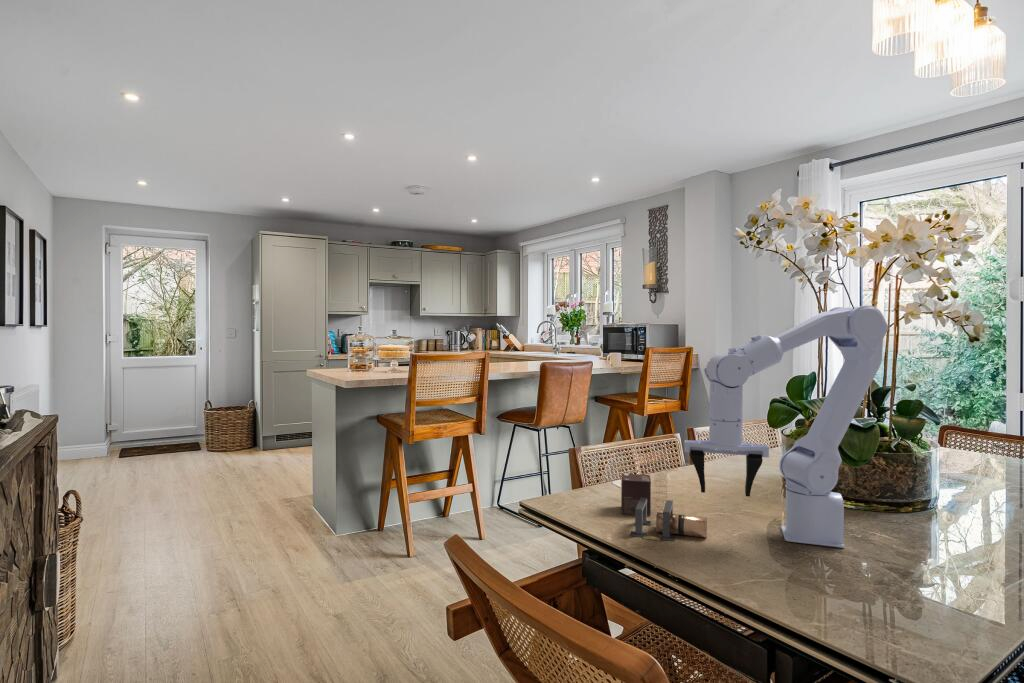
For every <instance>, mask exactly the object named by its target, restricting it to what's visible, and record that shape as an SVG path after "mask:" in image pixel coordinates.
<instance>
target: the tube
mask: <svg viewBox="0 0 1024 683" xmlns="http://www.w3.org/2000/svg"><path fill="white" fill-rule="evenodd" d="M655 529H656V530H655V532H656V533H663V512H656V519H655ZM672 534H673V535H678V536H679V535H680V536H690V537H697V538H698V537H699V538H707V537H708V535H707V534H708V517H705V516H695V515H687V514H677V513H673V514H670V535H672Z"/></svg>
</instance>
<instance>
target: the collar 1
mask: <svg viewBox="0 0 1024 683" xmlns="http://www.w3.org/2000/svg"><path fill="white" fill-rule="evenodd" d="M634 516H635V518H634V521H635V522H634V524H635V526H634V529H635V530H631V531H630V532H629V536H630V537H637V538H643V536H648V533H647V532H643V529H644V528H643V526H652V523H653V522H652V521H651V520H648V516H647V498H640V500H639V502H638V504H637V507H636V509H635V515H634Z"/></svg>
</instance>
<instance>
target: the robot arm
mask: <svg viewBox="0 0 1024 683" xmlns="http://www.w3.org/2000/svg"><path fill="white" fill-rule="evenodd" d="M853 307H854V309H853ZM886 321H887V320H886V319H885V317H884V315H883V313H882V311H881V310H880V309H879V308H877V307H876V306H874V305H870V304H869V305H866V304H864V305H859V306H850V307H849V306H847V307H842V306H841V307H839V306H838V307H837V306H836V307H833V308H831V309H829V310H828V311H823V312H819V313H818V314H816V315H814V316H812V317H810V318H808V319H806V320H804V321H802V322H801V323H799V324H797V325H795V326H794V327H791V328H789V329H787V330H786V331H784V332H782V333H780V334H779V335H778V334H777V335H776V336H773V337H772V336H770V335H767V334H763V335H761V334H754V335H753V336H751V337H750V339H751V340H750V341H748V342H746V343H744V344H742V345H740V346H737V347H735V346H731V347H729V348H728V349H727V350H728V352H727V354H726V353H725V354H724V353H723V354H722V353H720V354H715V355H714V356H712V357H711V358H709V361H707V364H706V368H704V369H703V370H704V375H705V377H706V379H707V381H709V404H708V405H709V413H708V415H709V416H708V418H709V431H708V432H709V434H708V435H709V436H708V437H709V439H707V440H705V439H704V440H698V439H697V440H694V439H691V440H690V439H689V440H688V439H684V444H683V447H684V449H683V450H684V453H689V455H690V456H689V457H690V460H691V462H692V463H693V467H694V468H695V471H696V473H697V477H698V481H699V485H700V491H701V492H700V493H704V494H705V493H706V479H705V454H707V453H708V454H723V455H735V456H737V455H739V456H740V455H741V456H745V461H746V462H745V463H746V464H745V465H746V467H745V471H746V473H745V474H746V476H745V487H744V493H745V497H749V498H750V497H751V491H752V486H753V484H754V481H755V478H756V476H757V474H758V471H759V469H760V468H761V467H762V464H763V461H764V460H763V458H770V457H769V455H770V446H769V445H768V444H761V443H760V444H758V443H749V442H744V441H743V402H744V401H743V391H744V390H743V385H744V384H746V382H747V380H748V379H749V378H750V377H752V376H754V375H756V374H758V373H760V372H763V371H764V370H767V369H768V368H770V367H774V366H775V365H777V364H779V363H781V361H782V359H783V356H784V354H785V353H788V352H789V351H791V350H794V349H796V348H798V347H801V346H804V345H805V344H808V343H811V342H812V341H815V340H817V339H820V338H822V337H828V339H829V340H830V341H831V342H832V343H833V344H834V345H835V347H836V348H837V349H838V350H839V351H840V353H841V355H842V358H843V359H844V362H843V364H842V366H841V368H840V370H839V372H838V374H837V375H836V378H835V379H834V382H833V384H832V385H831V387H830V388H829V391H828V393H827V395H826V397H825V399H824V400H823V403H822V405H821V407H820V409H819V411H818V412H817V414H816V416H815V418H814V420H813V422H812V424H811V426H810V428H809V429H808V431H807V434H805V435H803V436H801V437H800V438H798V439H797V440H795V441H794V444H793V445H792V446H791V448H790V449H789V450H787V451H786V452H785V453H783V455H782V456H781V457H780V461H779V472H780V473H781V475H782V476H783V477H784V478H785V525H781V526H780V527H781V528H780V529H781V532H782V535H783V537H784V541H786V542H792V543H799V544H808V545H817V546H824V547H834V548H841V549H842V548H845V544H844V538H845V537H844V531H845V530H844V528H845V527H844V526H845V523H844V522H845V521H844V520H845V519H844V518H845V507H844V499H843V496H842V494H841V493H839V492H833V491H832V490H833V489H835V487H836V485H837V484H838V480H839V470H840V466H841V465H842V462H843V460H842V457H841V454H840V451H839V446H840V444H841V442H842V441H843V438H844V436H845V435H846V433H847V431H848V429H849V426H850V425H851V422H852V420H853V419H854V417H855V415H856V414H857V411H858V409H859V407H860V406H861V403H863V402H862V401H863V400H864V397H865V396H866V394H867V392H868V390H869V389H870V386H871V384H872V382H873V380H874V378H875V377H876V375H877V373H878V371H879V369H880V367H881V366H882V361H883V349H884V348H883V346H884V339H885V336H886V335H887V332H888V330H889V325H888V323H887V322H886Z"/></svg>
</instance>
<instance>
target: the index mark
mask: <svg viewBox="0 0 1024 683" xmlns="http://www.w3.org/2000/svg"><path fill="white" fill-rule="evenodd" d="M657 537H658V536H650V535H647V536H643V537H642V539H645V540H651V541H659V542H660V541H661V539H660V538H657Z"/></svg>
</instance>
